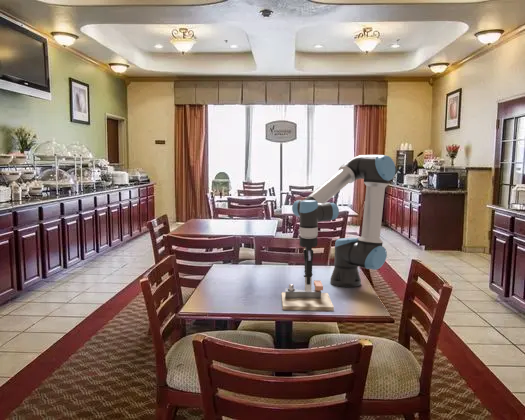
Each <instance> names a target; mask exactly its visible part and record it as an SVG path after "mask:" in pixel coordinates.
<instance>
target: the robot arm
mask: <svg viewBox="0 0 525 420" xmlns="http://www.w3.org/2000/svg"><path fill="white" fill-rule="evenodd" d="M395 175H396V165H395V162H394V160H393V159H392V157H391V156H389V155H386V154H359V155H358V156H355V157H353V158H350V159H349V160H348V161H346V162H345V163H343V164H342V165H341V166H340V167H339V168H338V171H337V172H336V173H334V174H333V175H332V176H331V177H330V178H328V179H327V180H326V181H325V182H324V183H322V184H321V185H320V186H319V187H317V188H316V189H315V190H314V191H312V192H311V193H310V194H309V195H307V196H306V197H305V198H304V199H297V200H295V201H294V202H293V204H292V208H291V211H292V213H293V215H294V216H296V217H299V228H298V230H297V232H299V236H300V237H299V246H300V247H302V248H304V249H303V260H304V274H303V277H304V290H305V292H311V290H312V284H313V283H312V282H313V281H312V276H313V275H314V274H313V261H314V250H313V249H312V248H316V247H317V246H318V236H319V232H318V230H319V227H318V226H319V225H318V224H319V223H320V222H328V221H329V222H330V221H333V220H336V219H337V218H338V216H339V214H340V209H339V206H338V205H337V204H336V203H334V202H328V201H329V200H330V199H332V198H333V197H334V196H335V195H336V194H338V193H339V192H340V191H341V190H342V189H343V188H345V187H346V186H347V185H348V184H352V183H354V182H355V181H356V180H363V184H364V185H365V186H366V188H365V197H364V205H363V206H364V207H363V217H362V218H363V219H362V227H361V228H362V229H361V236H360V237H344V238H343V237H342V238H338V239H336V240H335V244H334V264H333V265H334V267H333V270H332V273H331V276H330V281H329V282H330V284H331V285H333V286H335V287H341V288H355V287H356V288H357V287H360V286H362V280H361V279H362V278H361V275H360V272H359V268H364V269H367V270H373V271H375V270H379V269H380V268H382V266H383V265H384V264H385V262H386V259H387V257H388V256H387V255H388V254H387V249H386V248H385V246H383V244H384V242H383V241H382V239H381V229H382V223H383V222H382V219H383V211H384V210H383V208H384V199H385V192H386V188H387V187H388V186H390V185H389V184H390V181H391V180H393V179H394V177H395Z"/></svg>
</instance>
